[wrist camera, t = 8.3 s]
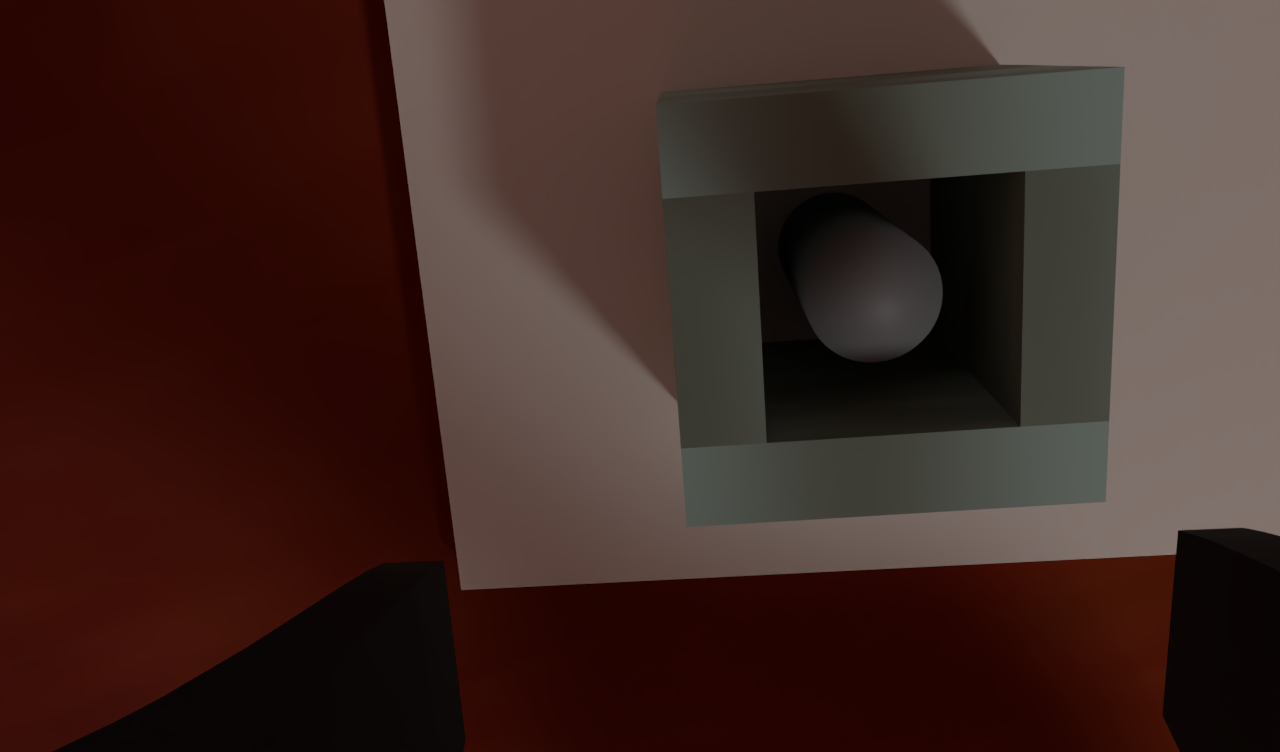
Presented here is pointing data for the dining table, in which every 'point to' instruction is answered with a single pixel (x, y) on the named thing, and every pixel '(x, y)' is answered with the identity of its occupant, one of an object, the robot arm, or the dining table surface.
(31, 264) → the dining table surface
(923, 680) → the dining table surface
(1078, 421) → the collar
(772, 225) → the pin plate
